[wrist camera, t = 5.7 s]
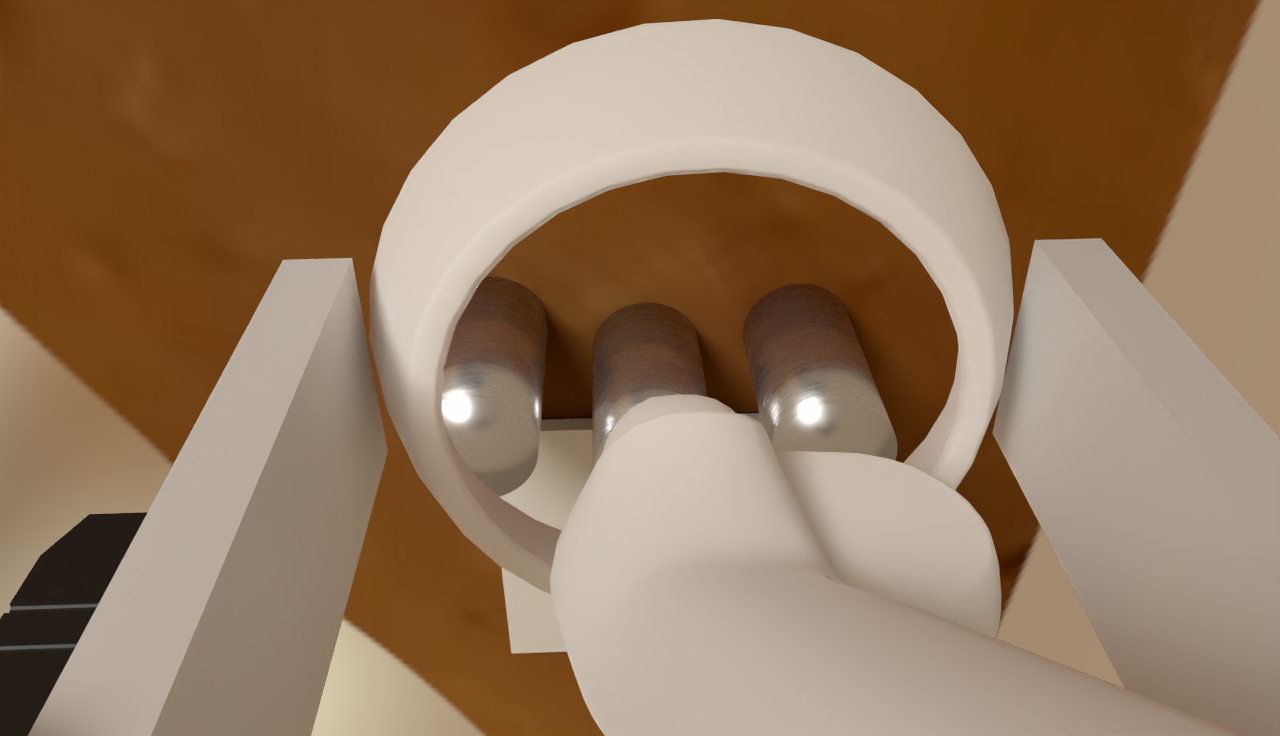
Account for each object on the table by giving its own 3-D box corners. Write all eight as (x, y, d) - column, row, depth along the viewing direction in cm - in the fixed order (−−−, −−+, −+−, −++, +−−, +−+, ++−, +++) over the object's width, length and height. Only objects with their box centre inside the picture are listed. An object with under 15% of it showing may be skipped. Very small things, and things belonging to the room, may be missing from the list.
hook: (2200, -710, 4) (2427, 1084, 4) (862, 118, 16) (914, 579, 16) (130, -1162, 2) (460, 1984, 2) (351, 144, 14) (406, 663, 14)
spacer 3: (745, 285, 30) (774, 405, 25) (854, 282, 30) (904, 402, 25) (740, 376, 32) (767, 506, 27) (844, 373, 32) (889, 501, 27)
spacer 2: (591, 304, 31) (589, 427, 26) (700, 301, 31) (720, 423, 26) (595, 393, 32) (594, 525, 27) (698, 391, 32) (716, 521, 27)
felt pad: (487, 420, 33) (485, 432, 32) (805, 412, 33) (808, 423, 32) (512, 640, 38) (511, 653, 38) (784, 631, 38) (786, 644, 38)
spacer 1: (432, 278, 30) (399, 399, 25) (544, 275, 30) (533, 396, 25) (445, 371, 32) (416, 501, 27) (551, 368, 32) (542, 497, 27)
